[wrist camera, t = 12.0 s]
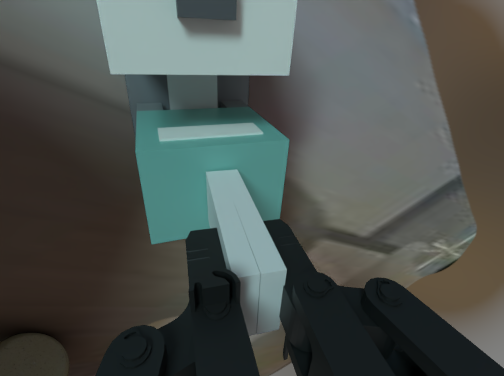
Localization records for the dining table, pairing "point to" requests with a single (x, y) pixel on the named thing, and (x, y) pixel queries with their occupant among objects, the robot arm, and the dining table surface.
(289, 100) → the dining table surface
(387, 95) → the dining table surface
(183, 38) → the board
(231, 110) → the block
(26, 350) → the ceramic mug
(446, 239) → the dining table surface
